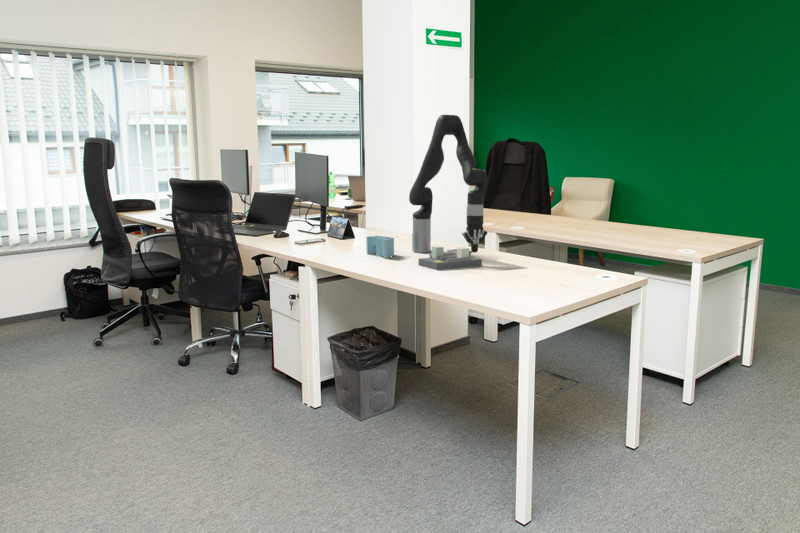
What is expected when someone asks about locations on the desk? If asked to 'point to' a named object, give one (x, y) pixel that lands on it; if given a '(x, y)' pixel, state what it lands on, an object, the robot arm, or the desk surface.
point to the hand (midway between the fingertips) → (474, 252)
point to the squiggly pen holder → (380, 245)
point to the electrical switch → (456, 252)
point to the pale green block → (437, 251)
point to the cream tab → (462, 252)
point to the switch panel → (449, 262)
